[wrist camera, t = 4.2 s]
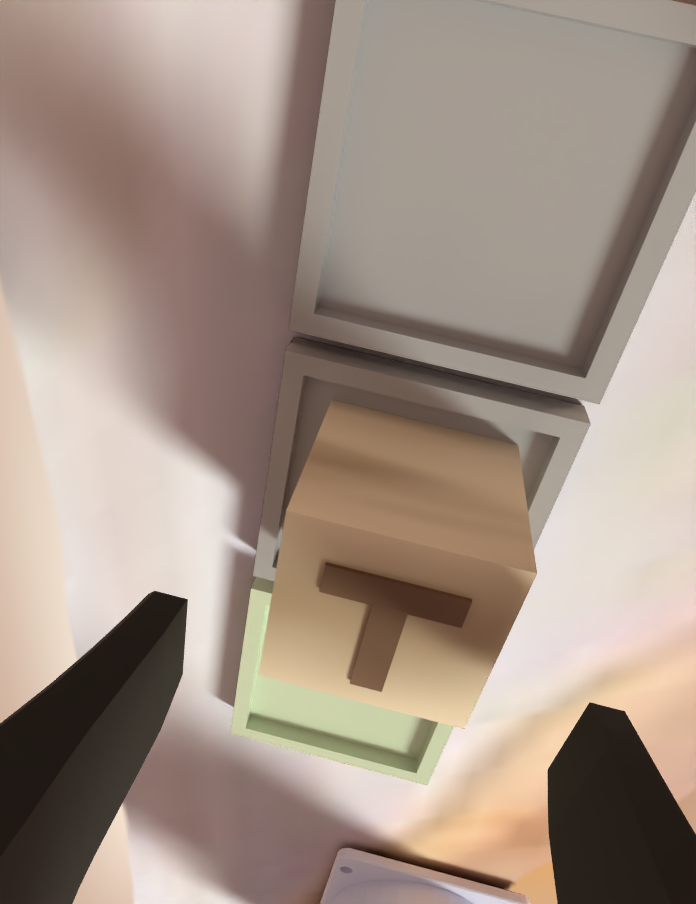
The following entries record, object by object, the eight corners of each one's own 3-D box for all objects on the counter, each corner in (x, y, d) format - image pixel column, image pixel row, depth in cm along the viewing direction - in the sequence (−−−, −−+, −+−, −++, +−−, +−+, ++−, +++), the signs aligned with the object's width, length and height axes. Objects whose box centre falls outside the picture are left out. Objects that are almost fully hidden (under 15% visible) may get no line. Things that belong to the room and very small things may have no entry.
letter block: (463, 586, 18) (462, 735, 14) (303, 545, 18) (256, 681, 14) (518, 445, 15) (537, 576, 11) (331, 399, 15) (284, 513, 11)
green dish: (428, 761, 22) (427, 785, 22) (238, 711, 23) (230, 733, 22) (487, 625, 19) (488, 649, 18) (259, 567, 19) (251, 588, 18)
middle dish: (492, 613, 18) (494, 637, 18) (261, 555, 19) (252, 575, 18) (584, 405, 15) (590, 423, 14) (294, 336, 15) (285, 350, 14)
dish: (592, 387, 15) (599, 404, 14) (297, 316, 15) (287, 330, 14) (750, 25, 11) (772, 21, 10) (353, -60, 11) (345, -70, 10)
